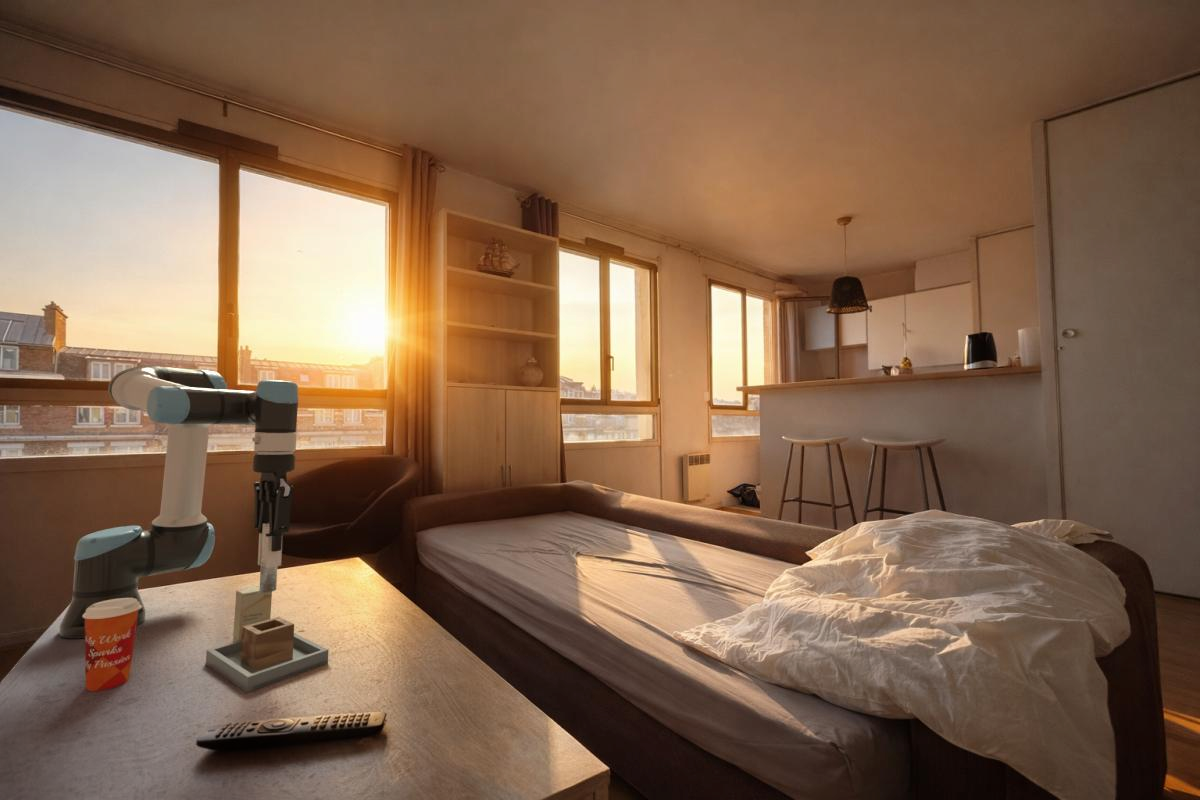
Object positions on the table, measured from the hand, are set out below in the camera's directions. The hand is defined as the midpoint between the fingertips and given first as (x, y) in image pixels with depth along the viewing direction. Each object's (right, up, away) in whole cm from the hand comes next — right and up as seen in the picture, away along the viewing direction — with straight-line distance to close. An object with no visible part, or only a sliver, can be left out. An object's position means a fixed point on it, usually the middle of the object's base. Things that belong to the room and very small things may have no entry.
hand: (269, 564), depth 109 cm
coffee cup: (-25, -20, -10) cm, 33 cm away
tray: (0, -20, -1) cm, 20 cm away
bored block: (0, -20, 0) cm, 20 cm away
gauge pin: (0, -5, 0) cm, 5 cm away
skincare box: (-10, -21, +9) cm, 25 cm away
